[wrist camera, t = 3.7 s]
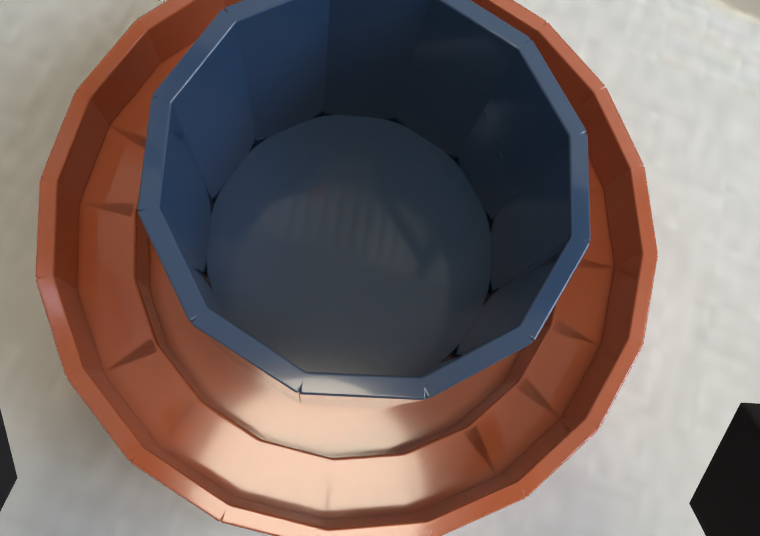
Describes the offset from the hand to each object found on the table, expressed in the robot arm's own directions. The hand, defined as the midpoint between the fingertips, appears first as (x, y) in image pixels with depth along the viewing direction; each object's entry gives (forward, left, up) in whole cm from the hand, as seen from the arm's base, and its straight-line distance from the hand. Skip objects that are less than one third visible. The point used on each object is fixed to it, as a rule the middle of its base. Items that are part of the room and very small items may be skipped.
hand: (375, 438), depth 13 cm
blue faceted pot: (-3, +5, -10) cm, 12 cm away
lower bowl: (-3, +5, -11) cm, 13 cm away
